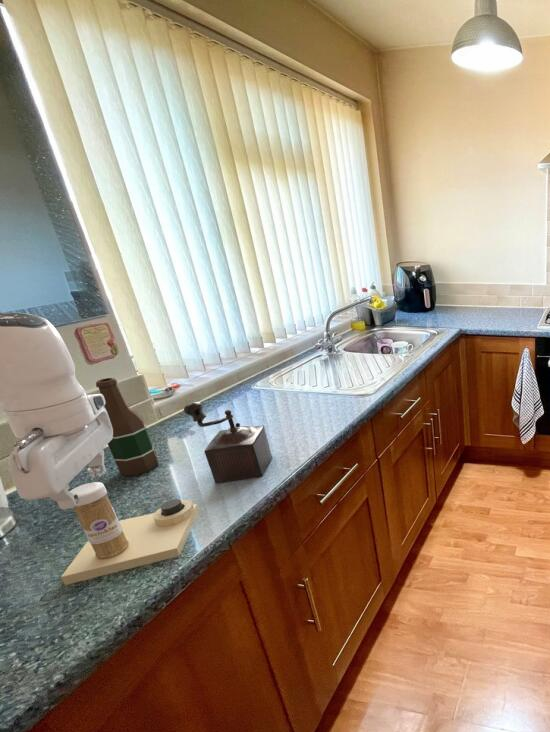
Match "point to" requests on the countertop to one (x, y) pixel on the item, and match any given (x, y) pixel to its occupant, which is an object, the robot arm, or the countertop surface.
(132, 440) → the beer bottle
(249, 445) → the manual coffee grinder
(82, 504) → the sprinkles bottle
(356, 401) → the countertop surface
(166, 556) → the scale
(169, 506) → the button
